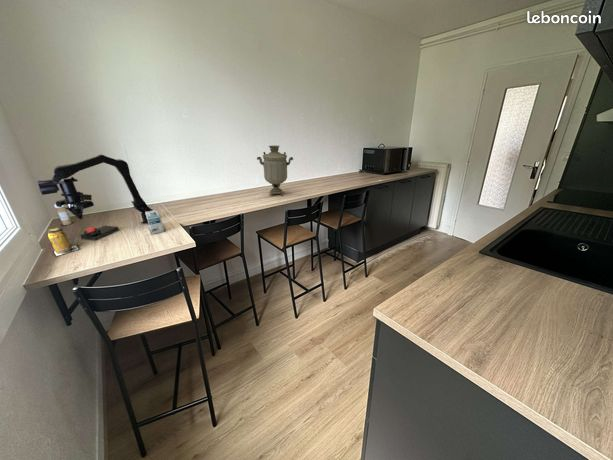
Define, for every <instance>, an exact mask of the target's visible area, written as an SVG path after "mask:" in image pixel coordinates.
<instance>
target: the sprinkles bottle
mask: <svg viewBox="0 0 613 460" xmlns="http://www.w3.org/2000/svg"><path fill="white" fill-rule="evenodd" d="M53 206H54V208H55V210H56V212H57V215H58V217H59V220H60V222H61V223H62V225H63V226H69V225H71V224H73V222H72V220H71V216H70V215H69V213H68V210H67V209H66V208H67V207H66V205H62V207H57V206H56V203H54V204H53Z"/></svg>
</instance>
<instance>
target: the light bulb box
mask: <svg viewBox="0 0 613 460" xmlns="http://www.w3.org/2000/svg"><path fill="white" fill-rule="evenodd" d="M145 213H146V217H147V220H148V223H149V224H148V226H149V229H150V232H151V234H152V235H154V234H159V233H163V232H165V228H164V224H163V220H162V217H161V213H160V212H159V210H158V209H155V210H154V209H153V211H147V212H145Z"/></svg>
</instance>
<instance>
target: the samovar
mask: <svg viewBox="0 0 613 460" xmlns="http://www.w3.org/2000/svg"><path fill="white" fill-rule="evenodd" d="M268 147H269V150H270V152H269V153H266V151H263V152H262V154H263V155H262V156H257V157H256V160H258V161H259V164H260V165H261V166H263V177H264V180H265V182H267V183H269V184H271V187H272V188H271V189H270V191H269V193H270V194H269V197H273V195H280V196H284V194H283V192H284V191H283V189H281V188H280V187H281V185H282V184H283V183H285V182H286V181H287V179H288V166H290V164H291V162H292V161H293V160H294V157H293V156H291V157H289V158H288V161H287V157H288V155H287V152H286V151H284V152H283V153H281V152H280V151H279V149H280V145H277V144H276V145H275V144H274V145H268Z"/></svg>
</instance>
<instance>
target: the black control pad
mask: <svg viewBox="0 0 613 460" xmlns="http://www.w3.org/2000/svg"><path fill="white" fill-rule="evenodd" d="M95 228H96V231H94V232H89V233H87V231H86V230H83V233H82V234H80V235H79V236H80V238H81V239H82V240H87V241H88V240H89V241H98V240H100V239H102V238H105V237H107V236H109V235H111V234H113V233H116V232H118V231H120V229H119V227H118V226H112V225H102V226H100V227H95Z"/></svg>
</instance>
